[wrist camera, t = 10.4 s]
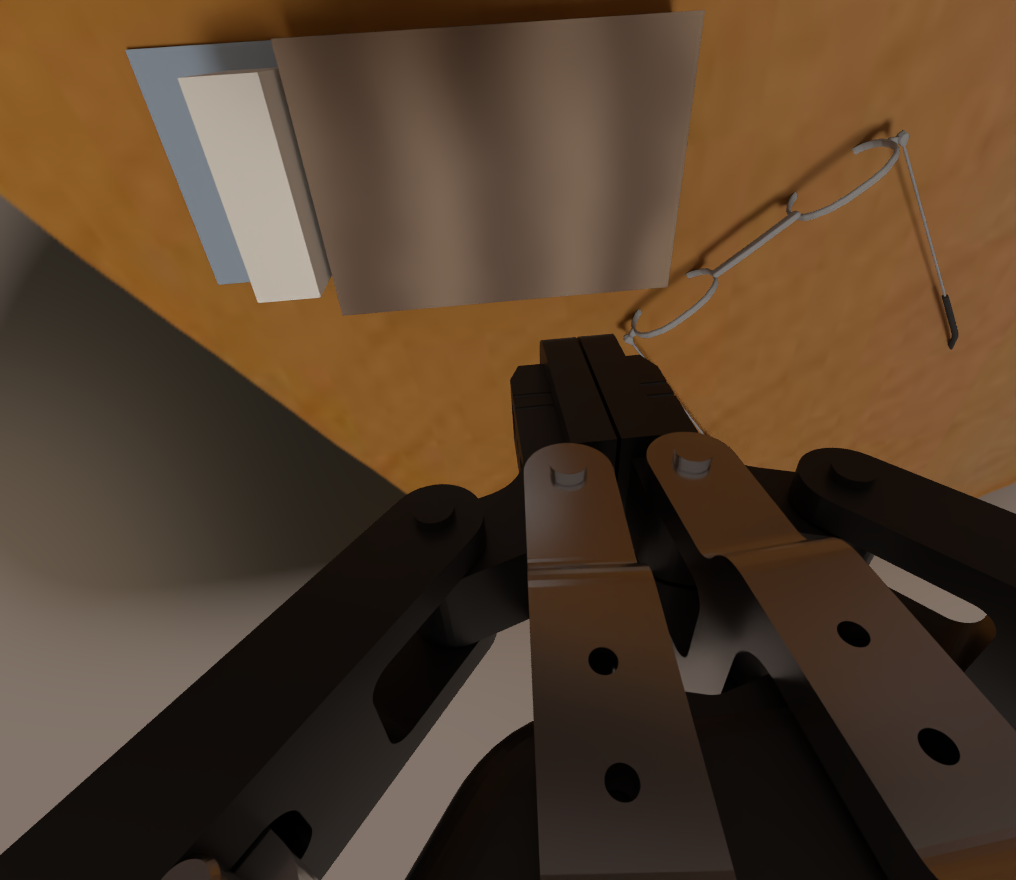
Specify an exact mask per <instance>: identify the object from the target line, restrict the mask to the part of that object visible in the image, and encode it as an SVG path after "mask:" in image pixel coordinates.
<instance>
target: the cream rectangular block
mask: <svg viewBox="0 0 1016 880" xmlns="http://www.w3.org/2000/svg"><path fill="white" fill-rule="evenodd" d="M178 81H179V84H180V87H181V89H182V92H183V95H184V98H185V100H186V103H187V106H188V109H189V112H190V114H191V117H192V120H193V123H194V126H195V128H196V131H197V134H198V137H199V140H200V142H201V145H202V148H203V151H204V153H205V156H206V159H207V162H208V165H209V167H210V170H211V173H212V176H213V179H214V181H215V184H216V187H217V190H218V193H219V195H220V198H221V201H222V204H223V206H224V209H225V212H226V215H227V218H228V220H229V223H230V226H231V229H232V232H233V234H234V237H235V240H236V243H237V245H238V248H239V251H240V254H241V257H242V259H243V262H244V265H245V268H246V271H247V273H248V276H249V279H250V282H251V285H252V287H253V290H254V293H255V296H256V298H257V301H258V303H262V302H274V301H285V300H297V299H308V298H320V297H321V296H322V294H323V292H324V290H325V287H326V285H327V283H328V281H329V279H330V277H331V275H332V273H331V269H330V265H329V261H328V257H327V254H326V250H325V246H324V242H323V238H322V234H321V230H320V227H319V223H318V219H317V215H316V211H315V207H314V204H313V200H312V196H311V192H310V188H309V184H308V180H307V177H306V173H305V169H304V165H303V161H302V157H301V153H300V150H299V146H298V142H297V138H296V134H295V130H294V127H293V123H292V119H291V115H290V111H289V107H288V103H287V100H286V96H285V92H284V88H283V84H282V80H281V77H280V73H279V69H278V67H272V68H257V69H243V70H229V71H222V72H215V73H208V74H201V75H194V76H187V77H180V78H178Z"/></svg>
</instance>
